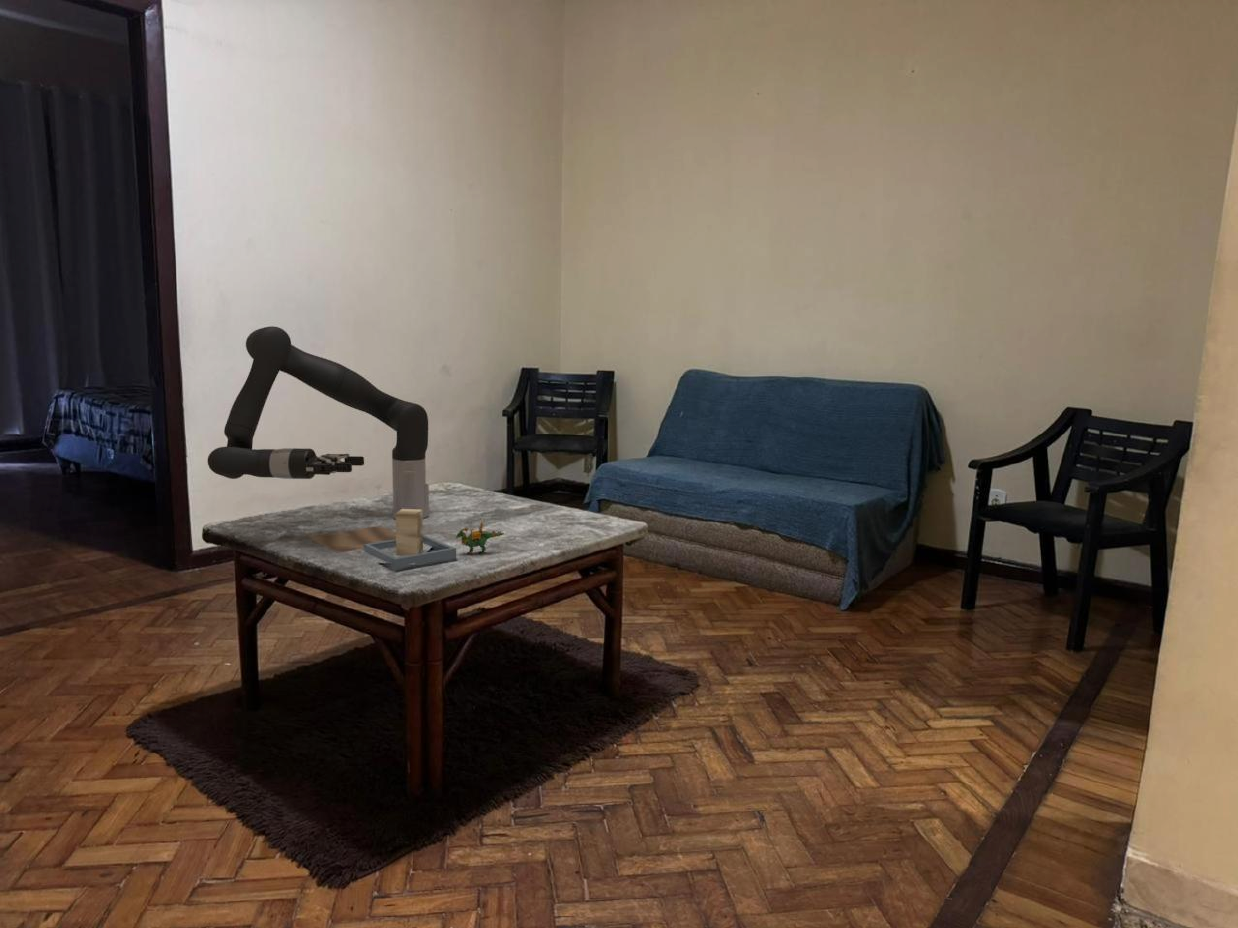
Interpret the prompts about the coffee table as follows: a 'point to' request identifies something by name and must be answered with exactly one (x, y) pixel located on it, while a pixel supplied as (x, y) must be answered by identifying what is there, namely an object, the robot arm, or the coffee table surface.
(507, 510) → the coffee table surface
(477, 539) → the figurine
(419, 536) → the maple block
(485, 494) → the coffee table surface
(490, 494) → the coffee table surface
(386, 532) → the walnut board
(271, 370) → the robot arm
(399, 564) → the box
